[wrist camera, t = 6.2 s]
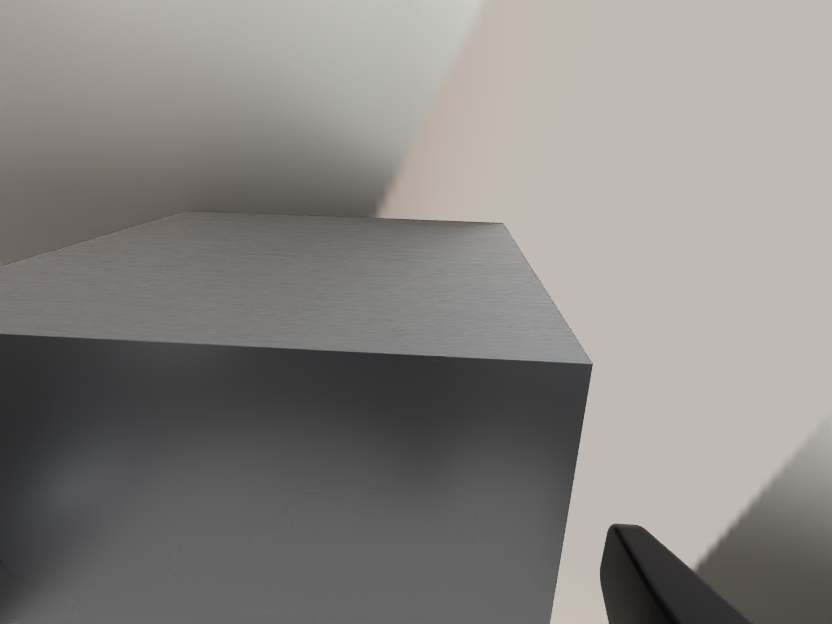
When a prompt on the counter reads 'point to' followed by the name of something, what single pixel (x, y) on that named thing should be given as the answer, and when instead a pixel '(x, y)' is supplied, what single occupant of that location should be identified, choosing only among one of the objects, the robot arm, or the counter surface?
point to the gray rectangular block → (285, 425)
